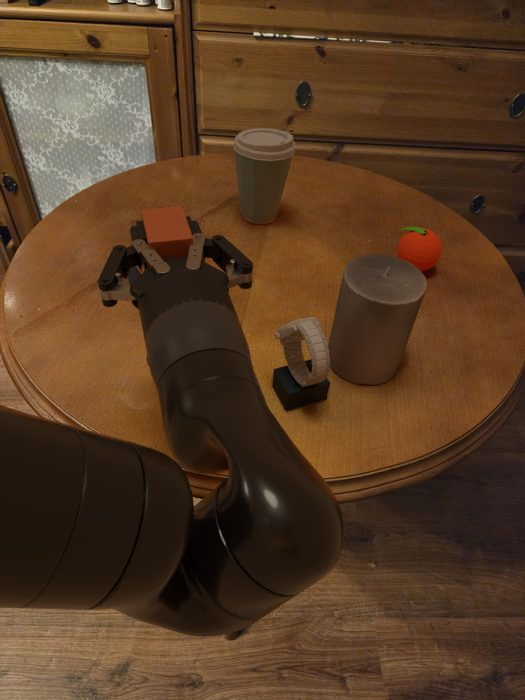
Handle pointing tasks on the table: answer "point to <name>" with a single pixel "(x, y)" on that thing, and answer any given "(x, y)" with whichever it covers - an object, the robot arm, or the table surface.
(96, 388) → the table surface
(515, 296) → the table surface
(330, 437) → the table surface
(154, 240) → the red rectangular block
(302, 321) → the watch
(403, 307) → the pillar candle
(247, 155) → the disposable coffee cup
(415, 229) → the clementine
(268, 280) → the table surface
